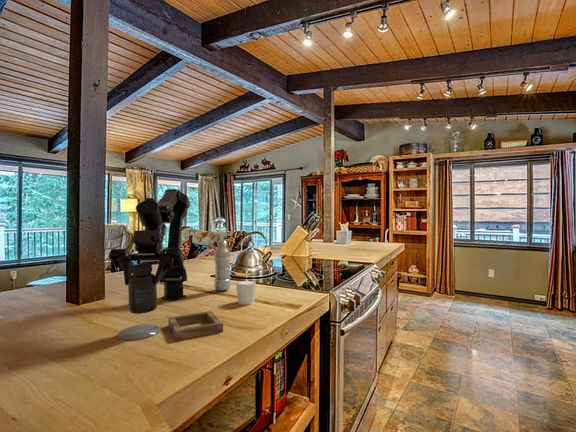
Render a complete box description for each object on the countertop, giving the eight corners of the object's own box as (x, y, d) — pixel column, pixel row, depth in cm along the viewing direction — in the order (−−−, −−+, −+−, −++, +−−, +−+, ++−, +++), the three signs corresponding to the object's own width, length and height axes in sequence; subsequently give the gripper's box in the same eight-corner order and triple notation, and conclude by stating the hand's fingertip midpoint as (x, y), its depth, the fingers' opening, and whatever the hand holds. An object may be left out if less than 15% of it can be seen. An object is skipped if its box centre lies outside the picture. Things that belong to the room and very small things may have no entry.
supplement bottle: (132, 307, 86) (130, 263, 86) (159, 304, 88) (157, 262, 88) (125, 315, 80) (124, 268, 79) (154, 312, 81) (153, 266, 81)
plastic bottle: (233, 289, 129) (233, 240, 129) (222, 293, 123) (222, 242, 123) (222, 287, 132) (222, 240, 132) (210, 291, 127) (210, 241, 126)
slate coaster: (109, 335, 82) (109, 334, 82) (143, 323, 90) (143, 322, 90) (135, 343, 77) (135, 341, 77) (167, 329, 86) (167, 328, 86)
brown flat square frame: (168, 325, 89) (168, 317, 89) (210, 318, 95) (210, 311, 95) (176, 340, 78) (176, 332, 78) (223, 331, 84) (223, 323, 84)
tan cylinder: (252, 305, 107) (252, 285, 107) (233, 304, 109) (233, 284, 109) (258, 300, 114) (258, 280, 114) (240, 299, 116) (240, 280, 115)
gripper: (110, 219, 86) (91, 267, 75) (181, 219, 88) (172, 265, 78) (122, 244, 94) (106, 291, 83) (187, 243, 96) (179, 289, 86)
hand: (140, 284), depth 82 cm, fingers closed on supplement bottle, 7 cm apart
